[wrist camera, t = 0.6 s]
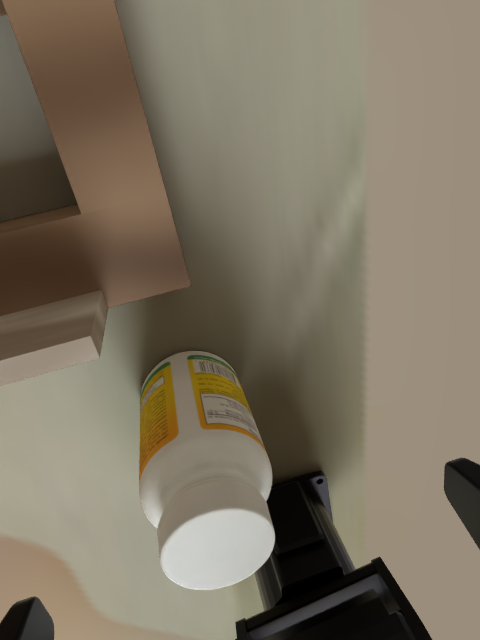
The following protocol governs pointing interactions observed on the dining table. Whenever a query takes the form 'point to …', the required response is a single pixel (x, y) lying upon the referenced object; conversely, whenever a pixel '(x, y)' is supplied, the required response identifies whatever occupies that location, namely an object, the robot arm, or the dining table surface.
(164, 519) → the supplement bottle
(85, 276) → the socket board
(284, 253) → the dining table surface
